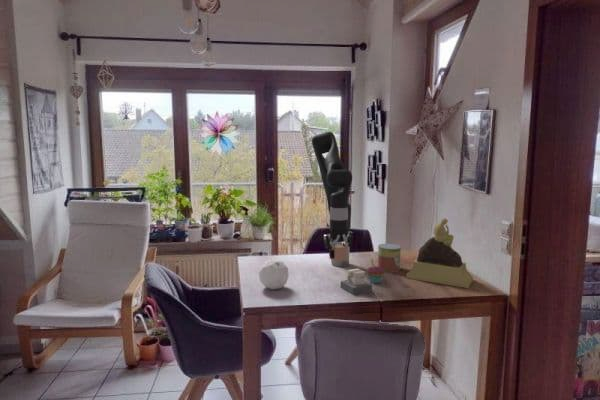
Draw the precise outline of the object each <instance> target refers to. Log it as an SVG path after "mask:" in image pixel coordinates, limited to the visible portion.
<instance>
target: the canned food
mask: <svg viewBox="0 0 600 400" xmlns="http://www.w3.org/2000/svg"><path fill="white" fill-rule="evenodd" d="M401 247H402V246H401V245H399V244H396V243H381V244H378V246H377V248H378V249H377V250H378V253H377V255H378V256H377V267H381V268H382V269H383V270H384V271H385V273H397V272H399V271H401Z"/></svg>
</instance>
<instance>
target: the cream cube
mask: <svg viewBox="0 0 600 400" xmlns="http://www.w3.org/2000/svg"><path fill="white" fill-rule="evenodd" d="M347 280H348V282H349V283H350V284H352V285H354V286H355V285H361V284H365V281H366V271H364V270H362V269H360V268H353V269H347Z"/></svg>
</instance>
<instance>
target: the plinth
mask: <svg viewBox="0 0 600 400" xmlns="http://www.w3.org/2000/svg"><path fill="white" fill-rule="evenodd" d="M340 288H341V289H342V290H344V291H345V292H347V293H349V294H351V295H359V294H364V293H370V292H372V291H373V283H371V282H368V281H366V280H365V284H361V285H355V286H354V285H352V284H350V283H349V282H348V279H346V280H345V279H344V280H340Z"/></svg>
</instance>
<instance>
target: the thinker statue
mask: <svg viewBox="0 0 600 400" xmlns="http://www.w3.org/2000/svg"><path fill="white" fill-rule="evenodd" d="M448 222H449V221H448V219H447V218H445V217H444V218H442V219H441V220H440V222H438V223H436V224H435V227H434V229H433V235H434V236H433V237H431V238H429V239H427V241H425V243H424V244H423V245H422V246H421V247H420V248H418V255H417V258H416V259H414V260H413V265H412V268H411V269H410V270H409V271H408V272H407V273H406V278H407V279H411V280H416V281H422V282H429V283H434V284H435V283H436V284H441V285H448V286H453V287H459V288H466V289H468V288H470V285H471V284H472V282H473V280H474V275H472V274H471V273H470V272H469V271H468V270H467V263H466V262H464V261H463V260H462V256H461V255H460V253H458V252H457V251H456V250H454V248H453V247H452V245H453V240H454V237H455V236H454V235H453V234H450V229H449V226H448Z"/></svg>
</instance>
